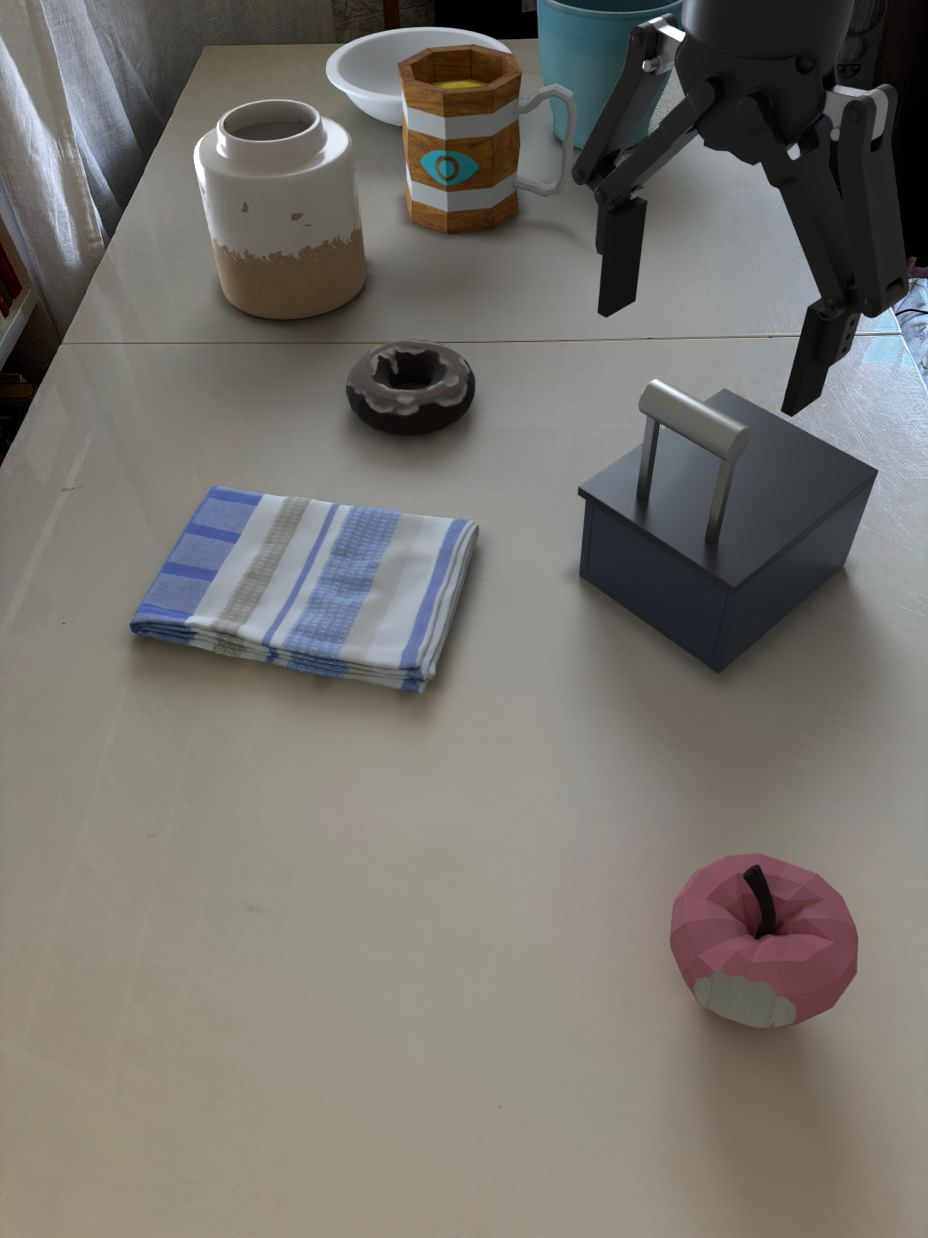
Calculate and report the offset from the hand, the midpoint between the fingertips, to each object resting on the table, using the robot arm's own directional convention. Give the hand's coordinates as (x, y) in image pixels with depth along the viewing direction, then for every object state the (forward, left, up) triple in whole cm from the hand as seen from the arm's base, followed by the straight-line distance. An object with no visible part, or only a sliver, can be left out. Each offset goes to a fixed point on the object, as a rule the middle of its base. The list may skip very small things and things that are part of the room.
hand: (703, 353), depth 61 cm
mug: (+44, -46, -23) cm, 68 cm away
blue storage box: (-2, -6, -23) cm, 23 cm away
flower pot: (+42, -70, -23) cm, 85 cm away
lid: (-1, -6, -14) cm, 15 cm away
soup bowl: (+65, -63, -23) cm, 94 cm away
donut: (+30, -11, -23) cm, 39 cm away
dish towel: (+23, +12, -23) cm, 35 cm away
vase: (+53, -22, -23) cm, 62 cm away
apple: (-17, +23, -23) cm, 36 cm away
